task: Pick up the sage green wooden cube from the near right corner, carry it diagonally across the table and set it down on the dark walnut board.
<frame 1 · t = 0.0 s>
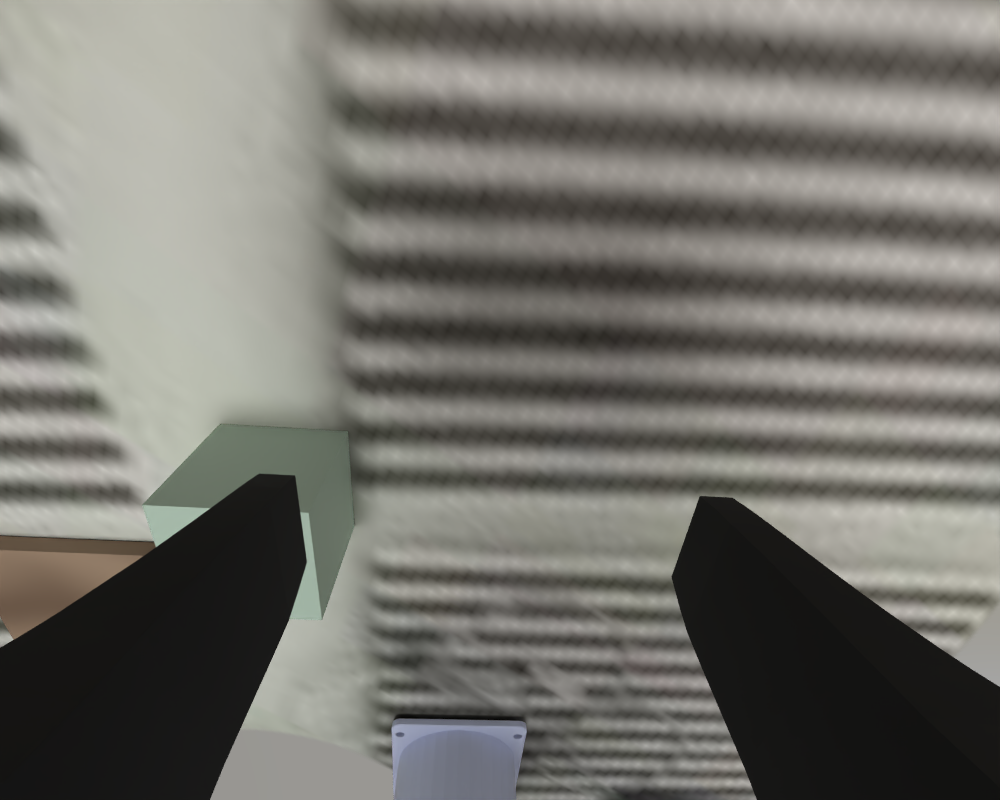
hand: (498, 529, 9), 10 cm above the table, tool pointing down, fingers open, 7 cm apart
green cube: (292, 476, 20), on the table
walnut board: (113, 608, 24), on the table
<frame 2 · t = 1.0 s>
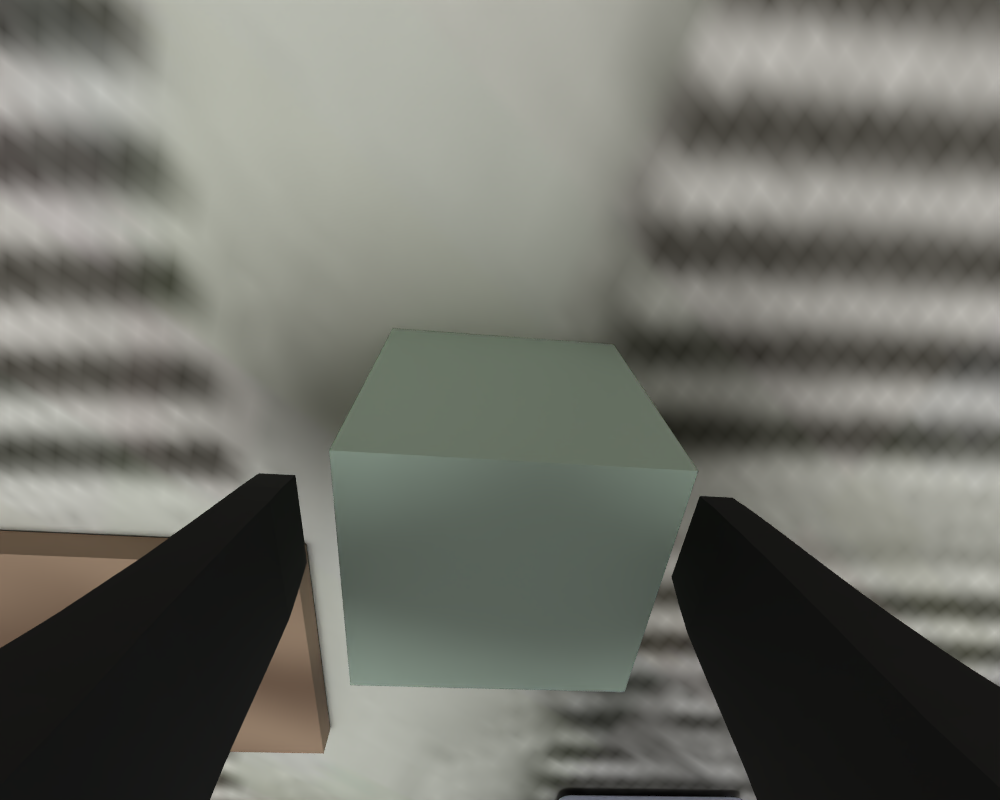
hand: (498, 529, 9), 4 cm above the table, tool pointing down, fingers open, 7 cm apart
green cube: (495, 429, 12), on the table
walnut board: (174, 644, 15), on the table
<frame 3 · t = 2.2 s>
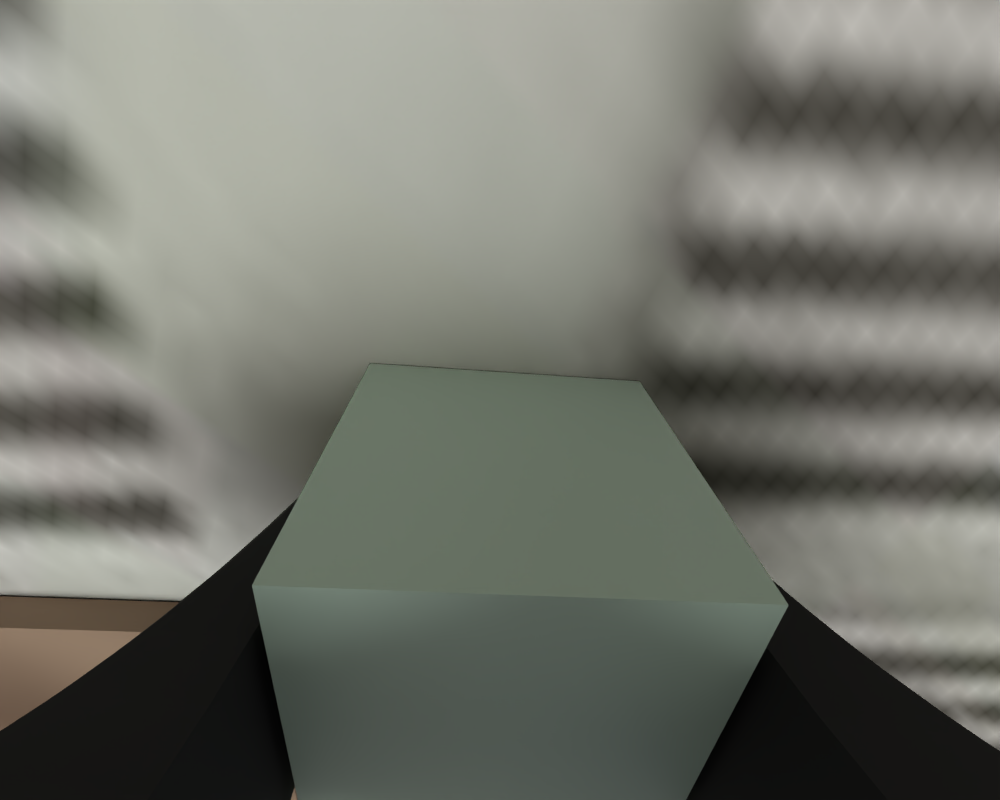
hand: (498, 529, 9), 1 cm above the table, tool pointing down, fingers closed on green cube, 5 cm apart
green cube: (496, 481, 10), on the table, touching gripper
walnut board: (129, 711, 13), on the table
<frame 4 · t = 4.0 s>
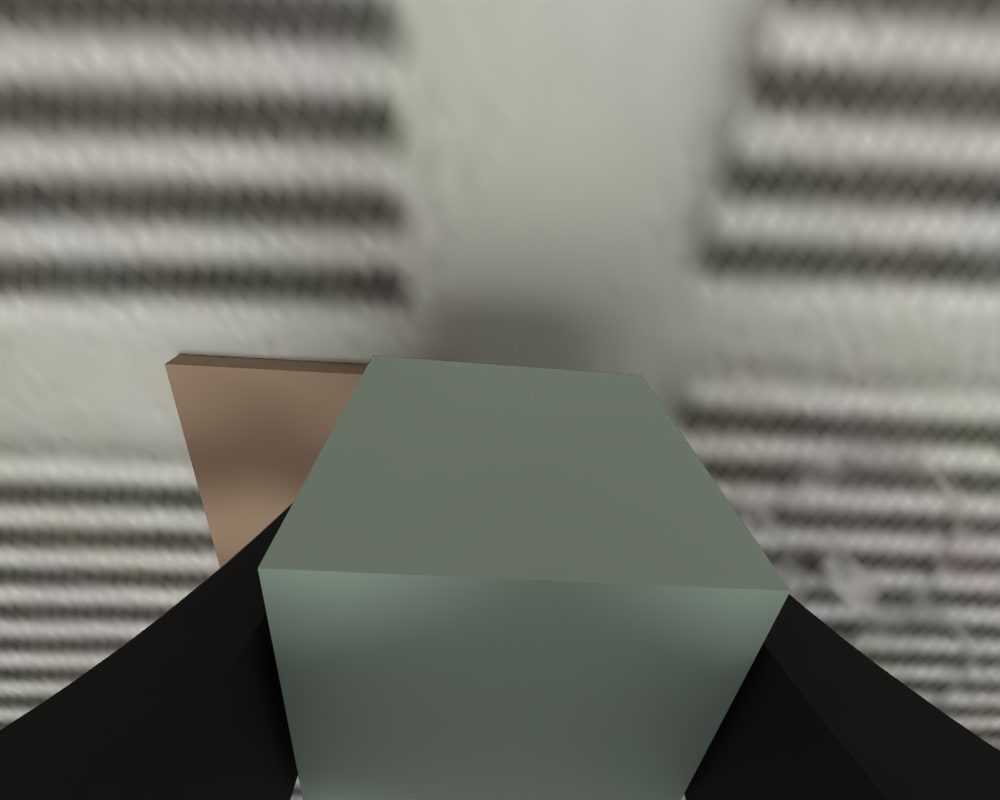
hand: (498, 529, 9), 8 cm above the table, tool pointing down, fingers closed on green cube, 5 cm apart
green cube: (497, 475, 10), point 7 cm above the table, touching gripper
walnut board: (330, 471, 18), on the table
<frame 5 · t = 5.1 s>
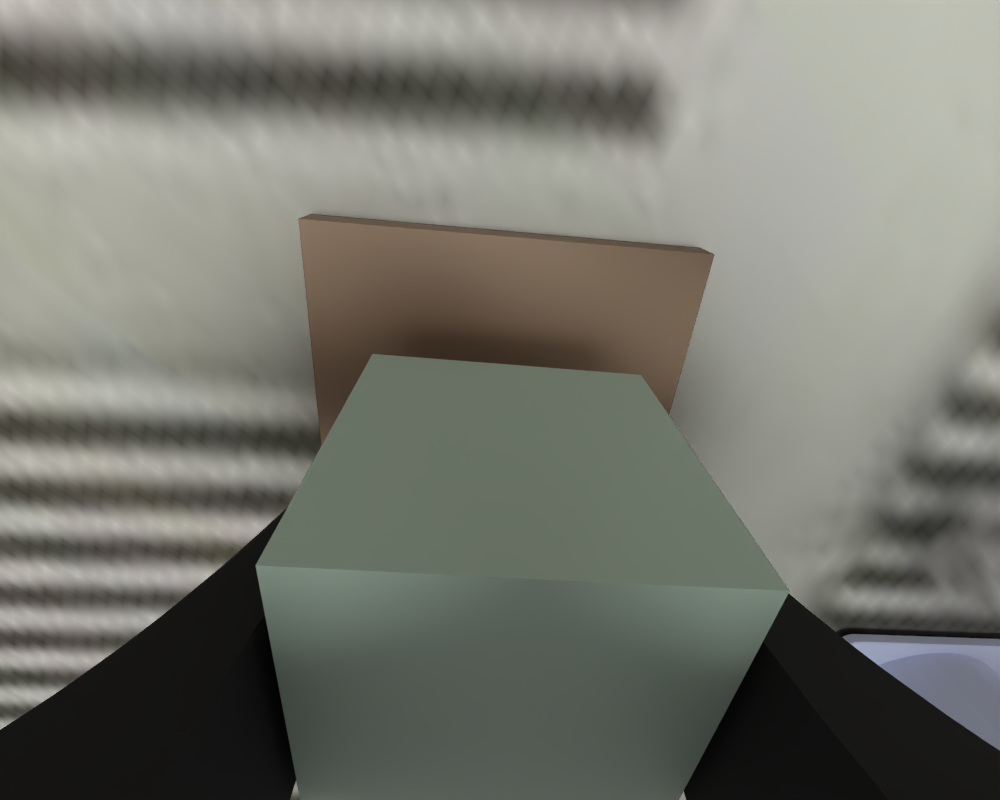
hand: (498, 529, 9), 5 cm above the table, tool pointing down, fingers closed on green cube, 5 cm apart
green cube: (496, 474, 10), point 3 cm above the table, touching gripper
walnut board: (494, 403, 13), on the table
when the fingers open (4 cm above the table, at t = 5.8 s): green cube drops 2 cm, resting on walnut board.
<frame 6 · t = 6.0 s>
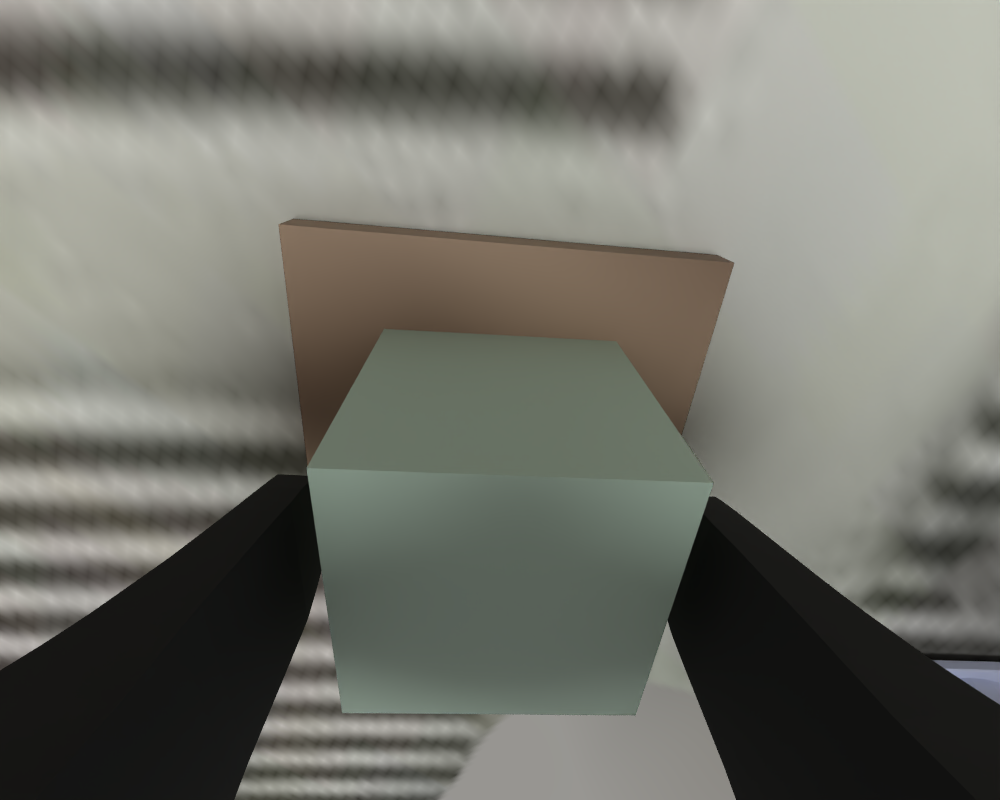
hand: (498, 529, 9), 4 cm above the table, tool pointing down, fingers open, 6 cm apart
green cube: (494, 434, 11), point 1 cm above the table, touching walnut board
walnut board: (494, 421, 12), on the table
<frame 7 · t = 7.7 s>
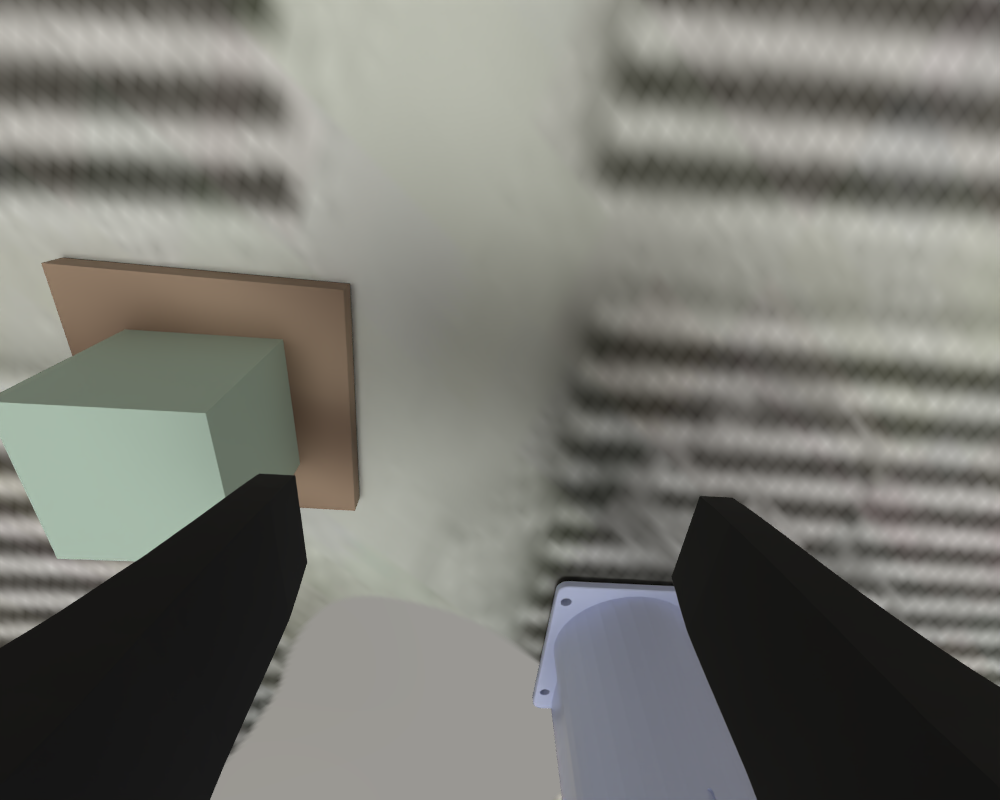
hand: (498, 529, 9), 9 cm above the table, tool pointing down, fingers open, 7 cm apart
green cube: (219, 401, 17), point 1 cm above the table, touching walnut board
walnut board: (230, 394, 18), on the table
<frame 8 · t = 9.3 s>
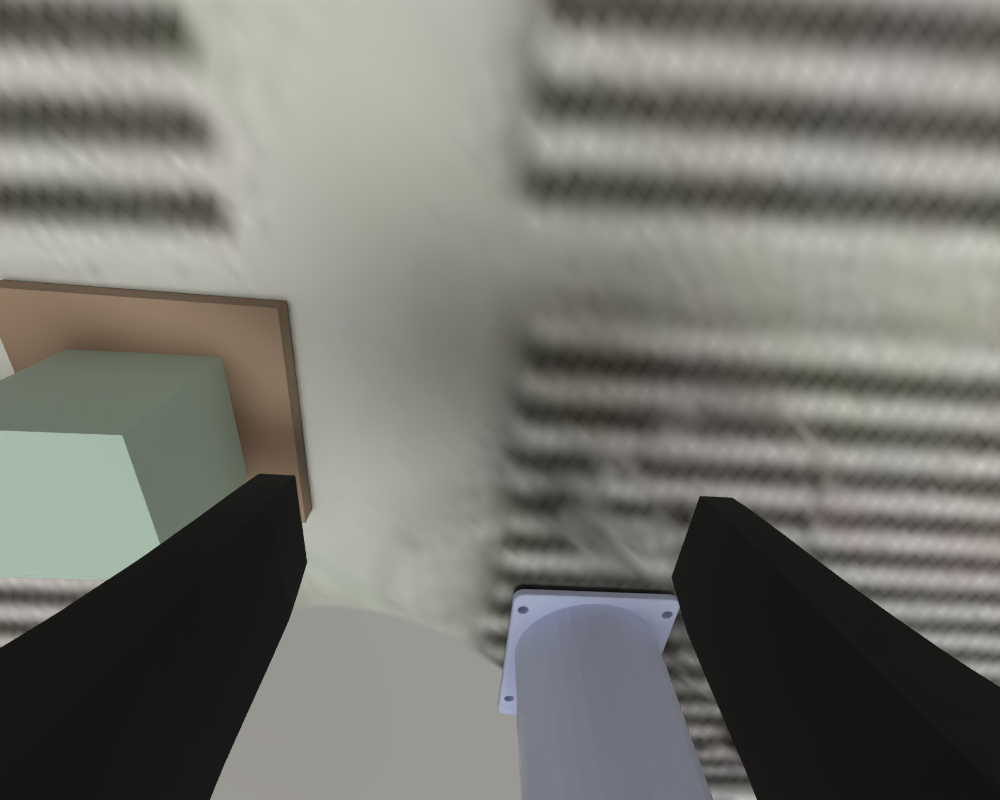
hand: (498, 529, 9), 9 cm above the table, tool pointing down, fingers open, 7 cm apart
green cube: (163, 418, 17), point 1 cm above the table, touching walnut board
walnut board: (177, 409, 18), on the table
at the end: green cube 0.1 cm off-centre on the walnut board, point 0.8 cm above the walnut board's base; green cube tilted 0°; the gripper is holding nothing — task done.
